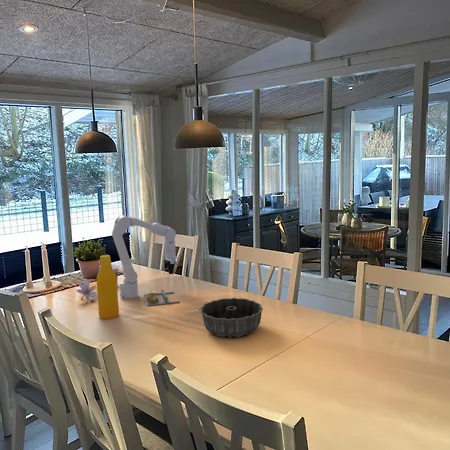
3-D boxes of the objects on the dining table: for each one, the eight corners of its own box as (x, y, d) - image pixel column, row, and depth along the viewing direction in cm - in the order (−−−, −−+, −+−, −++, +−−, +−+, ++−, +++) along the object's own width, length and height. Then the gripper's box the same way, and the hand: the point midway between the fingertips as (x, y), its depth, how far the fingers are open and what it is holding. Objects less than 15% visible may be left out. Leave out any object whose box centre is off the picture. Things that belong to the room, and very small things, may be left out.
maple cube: (147, 302, 223) (146, 293, 222) (146, 299, 227) (145, 291, 226) (156, 301, 224) (155, 292, 223) (155, 298, 228) (154, 290, 227)
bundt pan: (208, 346, 170) (208, 322, 169) (195, 322, 195) (194, 301, 194) (272, 338, 177) (272, 314, 176) (251, 316, 202) (250, 295, 201)
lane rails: (147, 308, 216) (147, 305, 216) (144, 297, 233) (144, 294, 233) (179, 304, 220) (179, 301, 220) (174, 294, 237) (173, 291, 237)
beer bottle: (113, 319, 201) (109, 258, 197) (95, 318, 203) (91, 257, 199) (122, 313, 210) (118, 253, 206) (104, 312, 212) (100, 253, 208)
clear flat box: (145, 307, 217) (145, 299, 217) (142, 298, 232) (142, 291, 231) (167, 304, 220) (167, 297, 220) (163, 296, 234) (163, 289, 234)
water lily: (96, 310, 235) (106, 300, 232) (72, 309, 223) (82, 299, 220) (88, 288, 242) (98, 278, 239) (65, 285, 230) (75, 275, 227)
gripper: (179, 251, 232) (180, 276, 234) (175, 246, 246) (176, 270, 248) (166, 252, 230) (167, 277, 232) (162, 247, 244) (163, 271, 246)
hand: (171, 273), depth 240 cm, fingers closed
